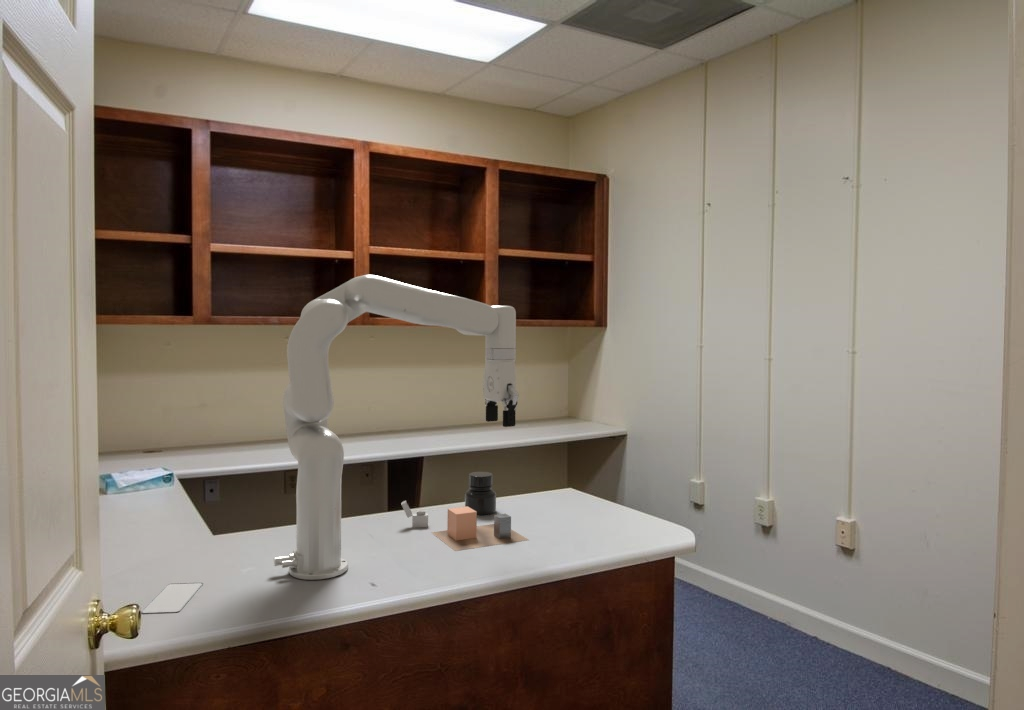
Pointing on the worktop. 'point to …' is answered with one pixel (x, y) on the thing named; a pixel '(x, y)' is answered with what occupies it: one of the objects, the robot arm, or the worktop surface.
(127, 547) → the worktop surface
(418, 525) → the lighter
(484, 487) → the ink bottle
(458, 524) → the salmon orange block
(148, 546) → the worktop surface
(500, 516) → the post
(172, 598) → the smartphone
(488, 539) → the base board
